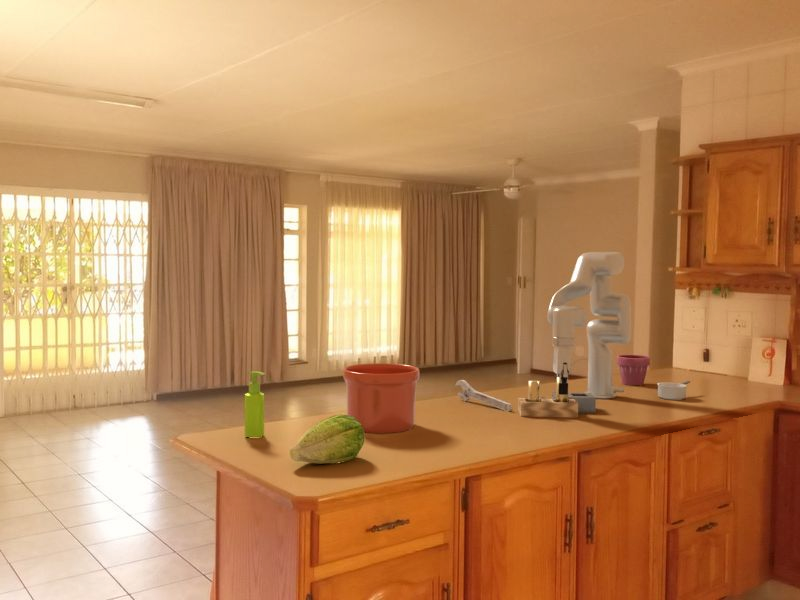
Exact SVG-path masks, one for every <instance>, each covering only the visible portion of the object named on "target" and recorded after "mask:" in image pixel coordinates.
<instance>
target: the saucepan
mask: <svg viewBox="0 0 800 600" xmlns="http://www.w3.org/2000/svg"><path fill="white" fill-rule="evenodd" d="M690 383H691V381H689V380H687V381H683V382H680V383H677V382H657V384H656V385H657V397H659V398H661V399H664V400H668V401H669V400H670V401H681V400H683V399H686V397H687V387H688V384H690Z"/></svg>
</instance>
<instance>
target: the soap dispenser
mask: <svg viewBox="0 0 800 600" xmlns="http://www.w3.org/2000/svg"><path fill="white" fill-rule="evenodd" d="M248 374H249V375H251V381H249V382H248V392H247V393H244V437H245V436H246V437H261V436H264V437H265V393H263V392H261V382H259V381H258V376H260V377H262V376H263V377H264V376H266V375H267V373H265V372H262V371H249V372H248Z"/></svg>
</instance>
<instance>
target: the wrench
mask: <svg viewBox="0 0 800 600" xmlns="http://www.w3.org/2000/svg"><path fill="white" fill-rule="evenodd" d="M455 386H456V387H457V386H460V387H461V388H462V391H460V392H457V396H459V398H460V399H462V400H463V402H465V403H466V402H467V403H468V402H469V401H470V400H471V399H474V400H477V401H479V402H482V403H484V404H486V405H489V406H491V407H495V408H497V409H499V410H502V411H505V412H507V413H509V412H512V411H513V405H512V404H511V403H510V402H507V401H504V400H502V399H499V398H496V397H494V396H490V395H488V394H486V393H482V392H480V391H478V390H475V388H473V387H472V385H470V384H469V383H468V382H467V381H466V380H464V379H460V380H458V381H456V383H455Z"/></svg>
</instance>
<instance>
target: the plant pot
mask: <svg viewBox="0 0 800 600" xmlns="http://www.w3.org/2000/svg"><path fill="white" fill-rule="evenodd" d="M616 357H617V358H616V363H617V365H618V367H619V373H620V377H621V383H622V384H623V385H625V384H627V385H626V386H632V385H640V386H644V385H645V379H646V375H647V371H648V367H649V366H650V365H651V363H650V362H651V361H650V360H651V357H650V356H648V355H642V354H618V355H617V356H616Z"/></svg>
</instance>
